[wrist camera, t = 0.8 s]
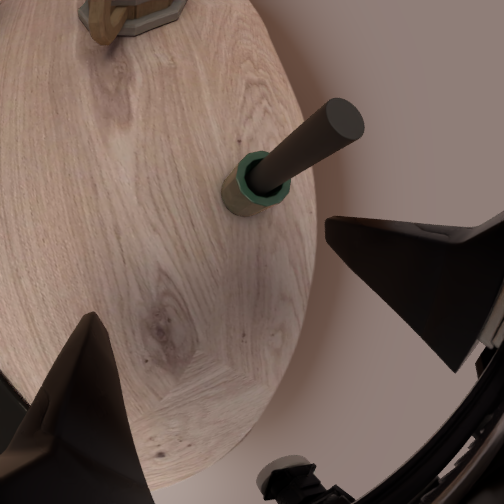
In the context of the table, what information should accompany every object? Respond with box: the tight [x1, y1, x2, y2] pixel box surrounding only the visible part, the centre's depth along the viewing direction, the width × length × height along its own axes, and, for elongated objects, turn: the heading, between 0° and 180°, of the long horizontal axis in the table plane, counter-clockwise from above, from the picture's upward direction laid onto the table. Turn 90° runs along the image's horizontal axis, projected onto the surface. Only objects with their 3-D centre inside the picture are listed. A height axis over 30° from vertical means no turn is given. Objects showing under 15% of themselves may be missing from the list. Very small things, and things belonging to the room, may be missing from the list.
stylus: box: [244, 98, 365, 197], centre depth 16 cm, size 2×2×14 cm
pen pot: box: [221, 151, 291, 217], centre depth 21 cm, size 4×4×5 cm
